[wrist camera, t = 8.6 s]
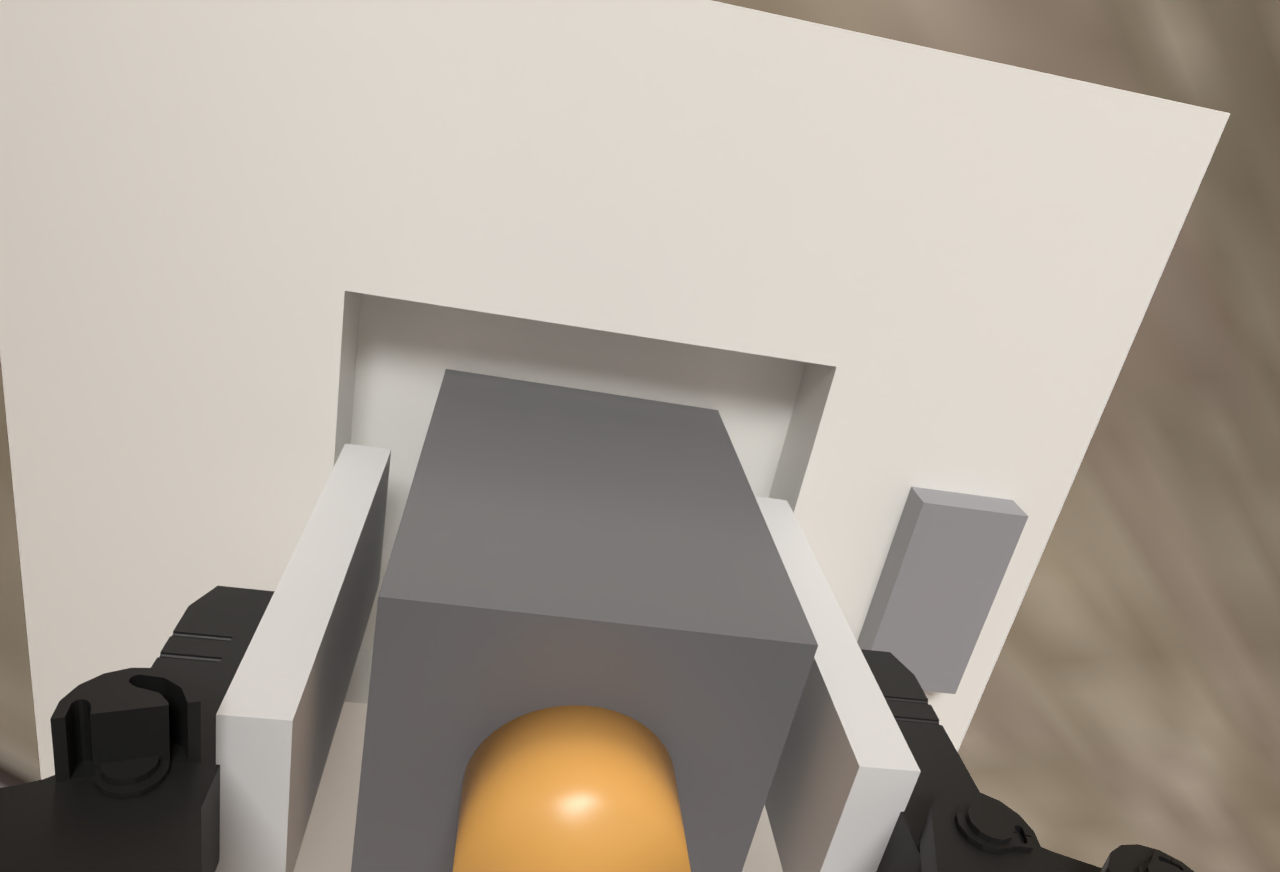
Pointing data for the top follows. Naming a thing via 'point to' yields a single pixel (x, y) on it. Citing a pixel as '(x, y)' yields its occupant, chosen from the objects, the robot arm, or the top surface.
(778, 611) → the plug
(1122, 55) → the top surface
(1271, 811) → the top surface
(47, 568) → the socket plate
